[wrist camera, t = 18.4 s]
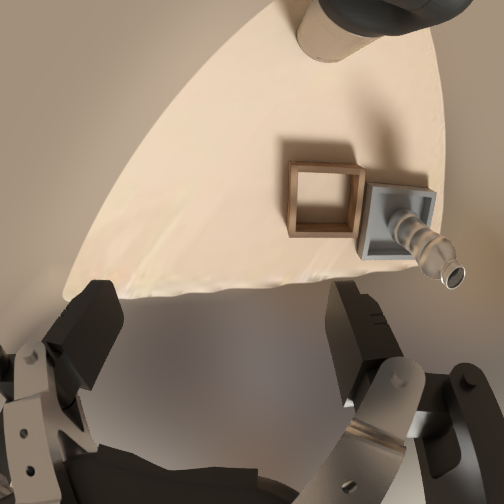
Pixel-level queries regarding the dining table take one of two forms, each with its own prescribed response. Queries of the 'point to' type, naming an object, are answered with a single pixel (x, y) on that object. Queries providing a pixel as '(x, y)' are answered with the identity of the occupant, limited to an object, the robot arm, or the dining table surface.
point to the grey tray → (378, 215)
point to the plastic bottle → (426, 248)
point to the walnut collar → (326, 228)
